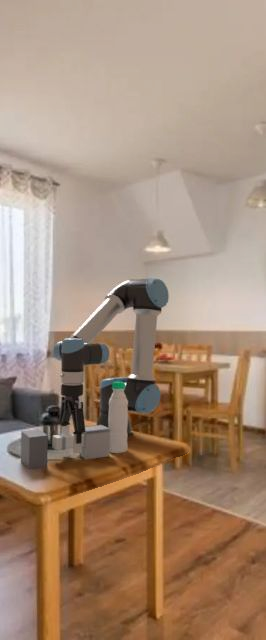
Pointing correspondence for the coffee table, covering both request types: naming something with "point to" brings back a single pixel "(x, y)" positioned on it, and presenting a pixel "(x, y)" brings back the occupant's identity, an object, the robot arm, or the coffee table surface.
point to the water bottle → (118, 418)
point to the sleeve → (96, 442)
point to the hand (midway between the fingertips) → (71, 448)
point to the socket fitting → (34, 448)
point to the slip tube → (65, 441)
